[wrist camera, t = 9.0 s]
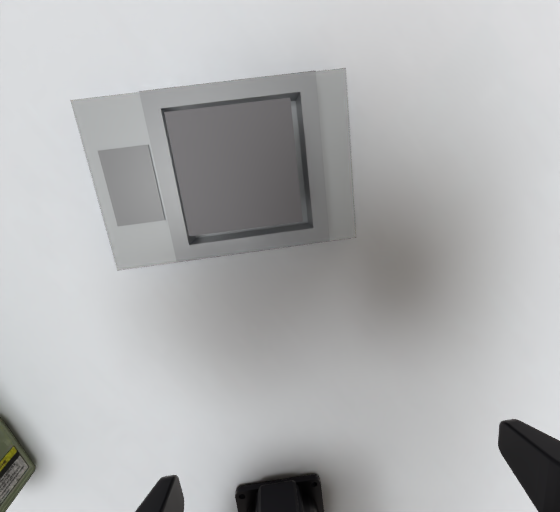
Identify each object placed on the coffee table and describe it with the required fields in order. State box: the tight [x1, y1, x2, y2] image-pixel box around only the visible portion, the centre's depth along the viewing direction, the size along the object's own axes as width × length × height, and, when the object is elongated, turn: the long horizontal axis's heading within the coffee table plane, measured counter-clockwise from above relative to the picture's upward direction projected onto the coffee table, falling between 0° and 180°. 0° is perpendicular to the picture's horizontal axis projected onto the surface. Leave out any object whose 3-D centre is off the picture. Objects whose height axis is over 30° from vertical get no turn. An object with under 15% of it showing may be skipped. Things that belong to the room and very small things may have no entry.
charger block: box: [164, 98, 303, 236], centre depth 14 cm, size 5×4×6 cm
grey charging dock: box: [71, 68, 356, 271], centre depth 16 cm, size 9×14×3 cm, turn 97°
